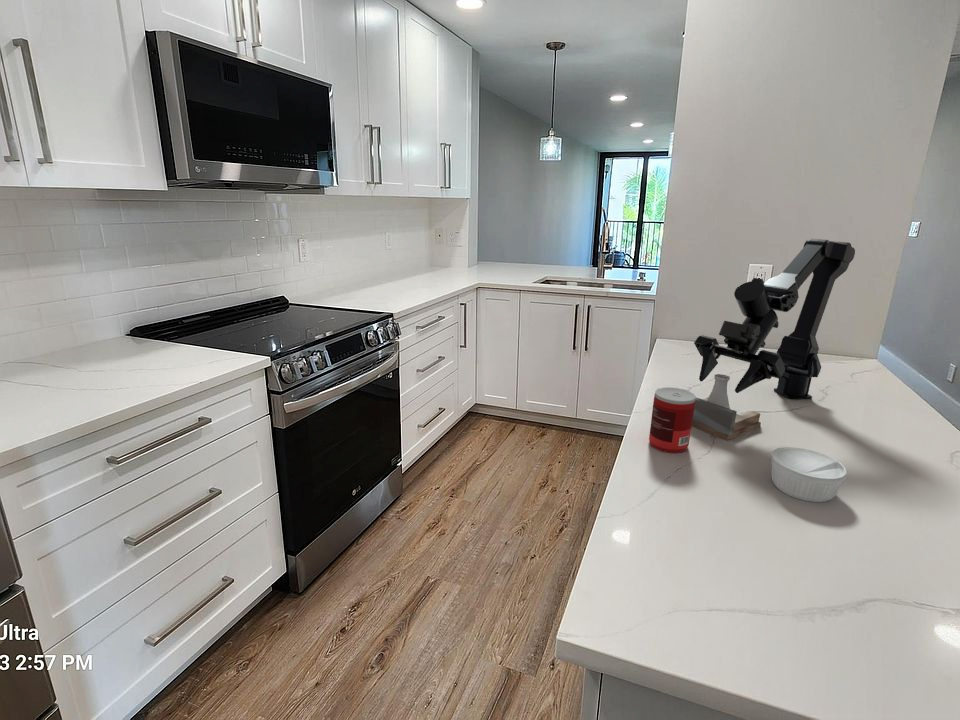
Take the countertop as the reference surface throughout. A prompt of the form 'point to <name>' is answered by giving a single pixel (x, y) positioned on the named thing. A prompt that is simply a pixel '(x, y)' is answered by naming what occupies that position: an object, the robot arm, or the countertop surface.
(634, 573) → the countertop surface
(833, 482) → the ramekin
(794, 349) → the robot arm
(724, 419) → the stand
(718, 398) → the flask
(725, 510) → the countertop surface
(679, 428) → the canned food
